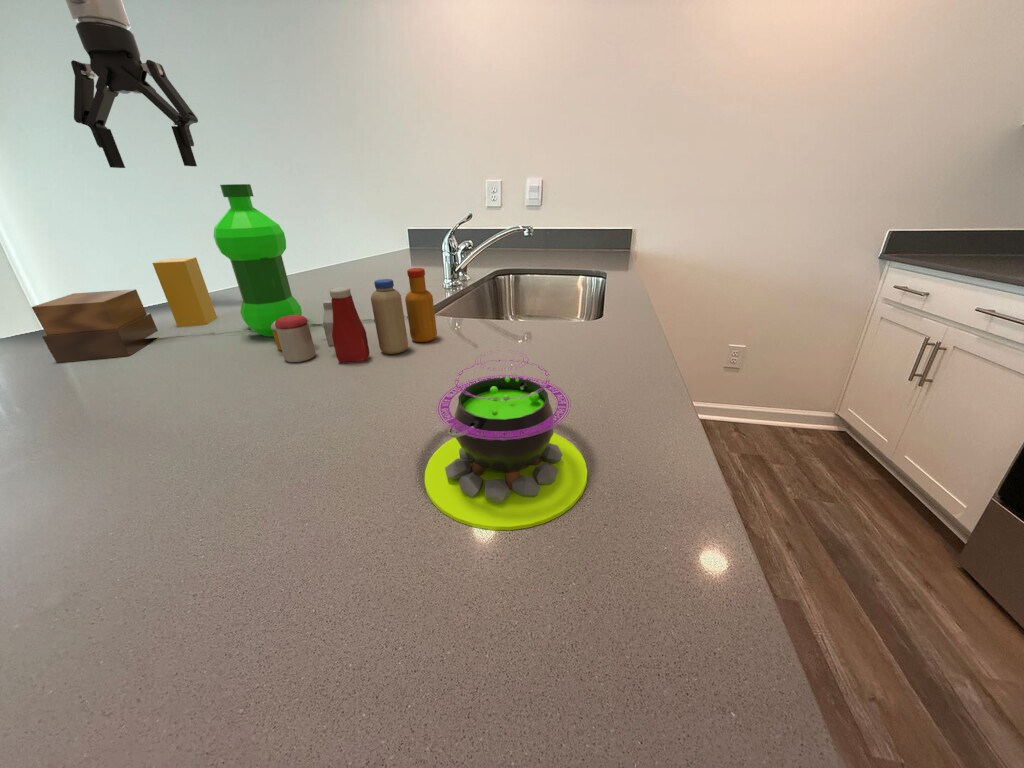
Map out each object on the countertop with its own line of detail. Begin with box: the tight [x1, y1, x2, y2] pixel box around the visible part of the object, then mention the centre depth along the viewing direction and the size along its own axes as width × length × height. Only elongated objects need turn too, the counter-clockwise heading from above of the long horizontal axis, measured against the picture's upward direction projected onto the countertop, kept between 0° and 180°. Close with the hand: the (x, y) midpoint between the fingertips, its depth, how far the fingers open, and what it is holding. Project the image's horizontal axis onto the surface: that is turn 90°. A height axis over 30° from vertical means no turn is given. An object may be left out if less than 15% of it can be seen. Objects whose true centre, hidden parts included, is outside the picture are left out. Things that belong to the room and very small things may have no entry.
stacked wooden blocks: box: [31, 288, 160, 364], centre depth 68 cm, size 10×10×9 cm
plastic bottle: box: [213, 183, 303, 338], centre depth 71 cm, size 10×10×25 cm
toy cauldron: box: [423, 350, 588, 531], centre depth 35 cm, size 15×15×11 cm
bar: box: [151, 256, 218, 328], centre depth 77 cm, size 5×5×13 cm
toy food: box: [271, 267, 438, 364], centre depth 65 cm, size 27×13×12 cm, turn 92°
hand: (154, 167), depth 79 cm, fingers open, 13 cm apart
